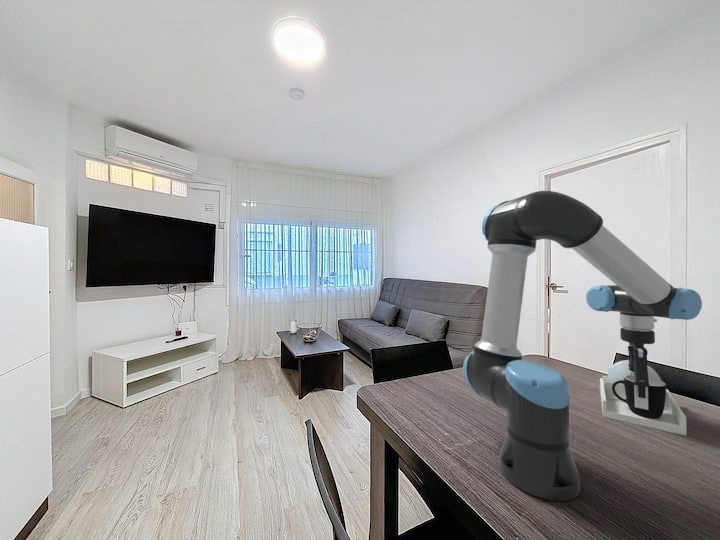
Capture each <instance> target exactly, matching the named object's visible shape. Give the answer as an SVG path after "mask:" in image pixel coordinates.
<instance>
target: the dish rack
mask: <svg viewBox="0 0 720 540" xmlns="http://www.w3.org/2000/svg"><path fill="white" fill-rule="evenodd" d="M613 384H614V382H609V380H608V375H602V377H600V378H599V393H600V402H601V409H602V410H601V411H602V417H603V418H607V419H611V420H616V421H620V422H623V423H624V422H625V423H628V424H632V425H637V426H641V427H646V428H650V429H651V428H652V429H655V430H659V431H663V432H667V433H668V432H669V433H672V434H677V435H682V436H685V437H686V436H687V416H686V414H685V413H684V412H683V410H682V408H681V407H680V406H679V404H678V402H677V400H675V399H674V397H673V395H672V394H671V392H670V391H669V389H667V388H666V399H665V406H664V411H663V414H662V416H661V417H660V418H658V419H651V418H645V417H642V416H639V415H636V414H634V413H633V412H632V411H631V410H630V409H629V406H628V404H627V403H625V402H623V401H621V400H620V399H618V398H617V397H616V396H615V395H614V393H613V391H612V385H613ZM615 391H616V393H617V394H618V395H619V396H620V397H621V398H623V399H626V393H625V386H624V384H620V383H619V384H617V385H616V386H615Z"/></svg>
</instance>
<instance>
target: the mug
mask: <svg viewBox="0 0 720 540" xmlns="http://www.w3.org/2000/svg"><path fill="white" fill-rule="evenodd" d="M648 380H649V387H648V410H647V409H642V408H637V407H635V390H634V385H632V382H635V375H626V376H624V380H620V381H616V382H615V383H614V384H613V385H612V391H613V393H614V395H615V396H616V397H617V398H618V399H620V400H621V401H623V402H625V403H627V404H628V406H629V409H630V410H631V411H632V412H633V413H634V414H636V415H639V416H642V417H645V418H651V419H658V418H660V417H661V416H662V414H663V411H664V406H665V399H666V389H667V384H666V383H665V382H664V381H663V380H662V379H661V380H658V379H655V378H651V377H648ZM640 381H641V380H640ZM642 382H644V381H642ZM619 383H623V384H624V386H625V393H626V399H623V398H621V397H620V396H619V395H618V394H617V393H616V391H615V386H616V385H617V384H619Z"/></svg>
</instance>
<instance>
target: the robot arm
mask: <svg viewBox="0 0 720 540" xmlns="http://www.w3.org/2000/svg"><path fill="white" fill-rule="evenodd" d="M481 231H482V232H481V233H482V235H483V236H484V239H485V241H487V249H488V250H489V251H490V252H491V253H492V254H491V255H492V256H491V263H490V264H491V265H490V272H489V279H488V285H487V286H488V287H487V294H486V300H485V309H484V315H483V316H484V317H483V324H482V325H483V326H482V331H481V338H480V340H479V341H477V342H476V343H474V346H473V350H472V351H470V352H469V354H468V355H467V356H465V359H464V361H463V365H462V374H463V378H464V380H465V382H466V384H467V385H468V386H469V387H470V388H471V389H472V390H473V391H474V392H475V393H476V394H477V395H479V396H480V397H482V398H484V399H486V400H487V401H488V402H490V403H491V404H493V405H495V406H496V407H498V408H499V409H501V410H503V411H504V412H505V413H506V434H505V437H504V440H503V442H502V445H501V448H500V451H499V454H498V459H499V460H498V464H499V470H500V471H501V474H502V475H503V476H504V477H505V479H507V480H508V481H509V483H511V484H512V485H513V486H515V487H517V488H518V489H519V490H522V491H523V492H525V493H527V494H529V495H532V496H534V497H537V498H540V499H543V500H548V501H551V502H552V501H554V502H566V501H567V502H568V501H572V500H573V499H576V498H577V497H578V496H579V495H580V492H581V475H580V472H579V470H578V468H577V464H576V462H575V459H574V457H573V454H572V452H571V449H570V395H569V394H570V393H569V389H568V383H567V380H566V378H565V376H564V375H563V374H562V373H561V372H559V371H558V370H556V369H555V368H553V367H552V366H551V367H550V366H549V365H546V364H543V363H541V362H534V361H531V360H527V359H522V358H523V354H522V352H521V351H520V349H518V347H517V346H518V345H517V344H518V337H519V328H520V321H521V314H522V313H521V312H522V305H523V298H524V297H523V296H524V290H525V289H524V288H525V281H526V273H527V267H528V258H529V256H530V255H532V254H533V253H535V252H536V249H537V248H536V247H537V242H538V241H539V240H540V241H541V240H549V241H553V242H555V243H557V244H558V245H559V246H561V247H562V248H564V249H569V250H570V249H572V250H574V251H575V252H576V253H577V254H578V255H579V256H581V257H582V258H583V259H584V260H585V261H587V262H588V263H589V264H590V265H591V266H593V267H594V268H595V269H596V270H597V271H599V272H600V273H602V275H604V276H605V277H606V278H608V279H609V280H610V281H611V282H612V283H614V284H615V285H614V284H613V285H603V284H601V285H596V286H593V287H590V288H589V289H588V290H587V292H586V295H585V298H586V299H585V300H586V303H587V305H588V307H589V308H591V309H592V310H593V311H597V312H605V313H608V312H616V313H617V312H619V326H620V327H621V328H620V329H619V330H620V332H619V333H620V340H621V341H623V342H627V343H628V344H629V345H628V346H627V352H628V360H629V365H628V366H629V370H630V371H629V375H635V382H632V385H634V390H635V407H637V408H642V409H647V410H648V387H649V380H648V367H647V365H648V349H647V347H645V345H653V344H655V343H656V332H655V331H654V329H655V323H657V322H658V319H657V317H658V318H664V319H665V318H666V319H670V320H682V321H686V320H687V321H690V320H694V319H695V318H697V317H698V316H699V314H700V312H701V310H702V307H703V301H702V298H701V295H700V294H699V292H697V291H696V290H695V289H691V288H683V287H674V286H673V285H672V284H671V283H669V282H668V281H667V280H666V279H665V278H664V277H662V275H660V274H659V273H658V272H657V271H656V270H655V269H654V268H652V267H651V266H650V265H649V264H647V262H646V261H644V260H643V259H642V258H641V257H640V256H638V255H637V254H636V253H635V252H634V251H633V250H631V248H629V247H628V246H627V245H626V244H625V243H623V241H621V239H619V238H618V237H617V236H616V235H614V234H613V233H612V232H611V231H610V230H609V229H607V227H605V226H604V219H603V217H602V216H601V215H600V214H599V213H597V212H596V211H595V210H594V209H593V208H591V207H590V206H588V205H587V204H586V203H584V202H582V201H580V200H578V199H576V198H574V197H572V196H570V195H567V194H565V193H562V192H557V191H552V190H539V191H534V192H530V193H528V194H526V195H522V196H520V197H517V198H514V199H510V200H504V201H503V202H500V203H497V205H494V206H492V207H491V208H490V209H489V210H488V211H486V214H485V215H484V217H483V219H482V223H481ZM631 371H632V372H631ZM640 380H641V381H640ZM642 381H644V382H642Z"/></svg>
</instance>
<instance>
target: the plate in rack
mask: <svg viewBox="0 0 720 540" xmlns="http://www.w3.org/2000/svg"><path fill="white" fill-rule="evenodd" d="M628 365H629V359H626V360H625V359H623V360H619V361H617V362H615V363H613V364H612V365H611V366H610V367H609V368H608V369H609V370H608V372H607V376H608V380H609V382H614V383H615V382H616V381H620V380H624V376H626V375H629V371H630V370H629V366H628ZM647 367H648V377H651V378H655V379H658V380H661V381H662V378H661V377H660V375H659V374H658V373H657V372H656V370H654V368H652V367H651V366H649V365H648V364H647ZM631 372H632V371H631ZM620 384H623V383H620Z"/></svg>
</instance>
